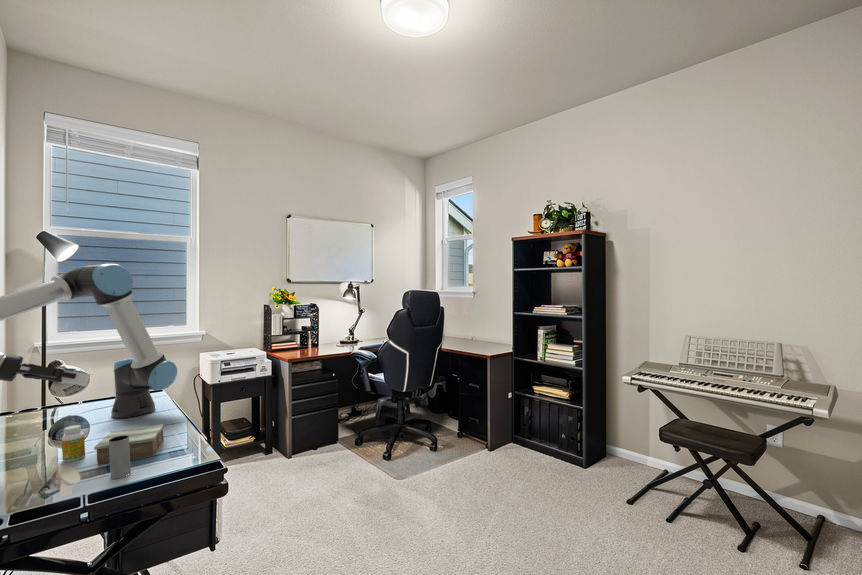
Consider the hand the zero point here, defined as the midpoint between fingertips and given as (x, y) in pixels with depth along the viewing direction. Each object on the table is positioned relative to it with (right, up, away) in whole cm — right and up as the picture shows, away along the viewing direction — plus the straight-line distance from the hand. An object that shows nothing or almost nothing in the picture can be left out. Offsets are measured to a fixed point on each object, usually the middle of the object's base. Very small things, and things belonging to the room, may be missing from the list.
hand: (88, 380), depth 139 cm
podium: (+17, -22, -3) cm, 28 cm away
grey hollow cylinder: (+25, -22, -21) cm, 39 cm away
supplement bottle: (+1, -23, -6) cm, 24 cm away
